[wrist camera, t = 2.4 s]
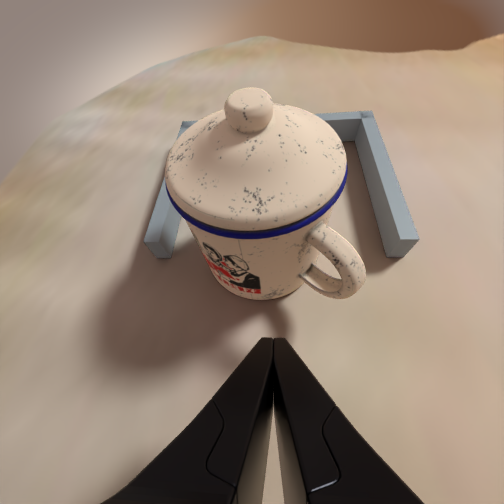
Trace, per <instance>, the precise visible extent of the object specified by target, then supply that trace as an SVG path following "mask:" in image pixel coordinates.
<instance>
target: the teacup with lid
mask: <svg viewBox="0 0 504 504" xmlns="http://www.w3.org/2000/svg"><path fill="white" fill-rule="evenodd" d="M346 178H347V160H346V153H345V149H344V146H343V144H342V142H341V140H340V138H339V136H338V135H337V133H336V132H335V131H334V129H333V128H332V127H331V126H330V125H329V124H328V123H326V122H325V121H324V120H322V119H321V118H319V117H318V116H316V115H314V114H312V113H310V112H308V111H306V110H303V109H300V108H297V107H293V106H289V105H283V104H275V103H273V101H272V99H271V97H270V95H269V94H268V93H267V92H266V91H264V90H262V89H259V88H243V89H239V90H237V91H235V92H233V93H232V94H231V95H230V96H229V97H228V98H227V100H226V102H225V106H224V109H223V110H220V111H217V112H215V113H213V114H210V115H208V116H206V117H204V118H202V119H201V120H199V121H197V122H196V123H194V124H193V125H192V126H190V127H189V128H188V129H187V130H186V131H185V132H184V133H182V135H181V136H180V137H179V138H178V139H177V140H176V142H175V143H174V145H173V147H172V148H171V150H170V152H169V155H168V158H167V161H166V167H165V185H166V191H167V194H168V197H169V199H170V201H171V203H172V205H173V206H174V208H175V209H176V210H177V212H178V213H179V214H180V215H181V216H182V217H183V218H184V219H185V220H186V222H187V224H188V226H189V228H190V230H191V232H192V234H193V236H194V238H195V240H196V242H197V244H198V246H199V248H200V249H201V251H202V253H203V255H204V257H205V259H206V261H207V263H208V265H209V267H210V269H211V271H212V273H213V275H214V277H215V278H216V279H217V281H218V282H219V283H220V284H221V285H222V286H223V287H225V288H226V289H227V290H229V291H230V292H232V293H234V294H236V295H238V296H241V297H244V298H248V299H254V300H268V299H274V298H278V297H282V296H284V295H287V294H289V293H291V292H293V291H294V290H296V289H297V288H299V287H300V286H301V285H302V284H303V283H304V282H305V283H306V284H308V285H309V286H310V287H311V288H313V289H314V290H316V291H317V292H319V293H320V294H322V295H325V296H327V297H330V298H335V299H345V298H348V297H350V296H352V295H353V294H355V293H356V292H357V291H358V290H359V289H360V288H361V287H362V285H363V284H364V282H365V278H366V269H365V266H364V263H363V261H362V259H361V257H360V256H359V254H358V253H357V251H356V250H355V249H354V247H353V246H352V245H351V244H350V243H349V242H348V241H347V240H346V239H345V238H343V237H342V236H341V235H340V234H338V233H337V232H336V231H334V230H333V229H332V228H330V227H329V226H327V224H328V221H329V218H330V214H331V211H332V207H333V204H334V203H335V202H336V201H337V199H338V198H339V196H340V194H341V192H342V190H343V188H344V185H345V183H346ZM319 251H320V252H321V253H322V254H323V255H324V256H326V257H327V258H328V259H329V260H330V261H331V262H332V264H333V265H334V266H335V268H336V269H337V271H338V272H339V274H340V276H341V278H342V279H336V278H333V277H331V276H329V275H327V274H326V273H324V272H323V271H321V270H320V269H319V268H317V267H316V266H315V264H316V262H317V258H318V255H319Z"/></svg>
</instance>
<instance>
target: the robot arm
mask: <svg viewBox="0 0 504 504" xmlns="http://www.w3.org/2000/svg"><path fill="white" fill-rule="evenodd" d="M273 392H274V416H275V425H276V433H277V442H278V451H279V459H280V468H281V477H282V485H283V494H284V503H285V504H424V503H423V502H422V501H421V500H420V498H419V497H418V496H417V495H416V494H415V493H414V492H413V491H412V490H411V489H410V488H409V487H408V486H407V485H406V484H405V483H404V481H403V480H402V479H401V478H400V477H399V476H398V475H397V474H396V473H395V472H394V471H393V470H392V469H391V468H390V467H389V465H388V464H387V463H386V462H385V461H384V460H383V459H382V458H381V457H380V456H379V455H378V454H377V453H376V452H375V450H374V449H373V448H372V447H371V446H370V445H369V444H368V443H367V442H366V440H365V439H364V438H363V437H362V436H361V435H360V434H359V433H358V431H357V430H356V429H355V428H354V427H353V425H352V424H351V423H350V422H349V420H348V419H347V418H346V417H345V415H344V414H343V413H342V411H341V410H340V409H339V407H338V406H336V404H335V402H334V401H333V400H332V399H331V397H330V396H329V395H328V393H327V392H326V391H325V389H324V388H323V387H322V385H321V384H320V383H319V382H318V380H317V379H316V378H315V376H314V375H313V374H312V372H311V371H310V370H309V369H308V367H307V366H306V365H305V363H304V362H303V361H302V359H301V358H300V357H299V355H298V354H297V353H296V352H295V350H294V349H293V348H292V346H291V345H290V344H289V342H288V341H287V340H286V339H285V338H274V340H273V338H266V337H262V338H261V339H260V340H259V341H258V342H257V344H256V345H255V346H254V347H253V349H252V350H251V351H250V352H249V353H248V355H247V356H246V357H245V358H244V360H243V361H242V362H241V363H240V364H239V366H238V367H237V368H236V369H235V370H234V372H233V373H232V374H231V375H230V377H229V378H228V379H227V380H226V381H225V383H224V384H223V385H222V386H221V387H220V389H219V390H218V391H217V392H216V394H215V395H214V396H213V397H212V399H211V400H210V401H209V402H208V403H207V404H206V406H205V407H204V408H203V409H202V410H201V411H200V413H199V414H198V415H197V416H196V417H195V418H194V419H193V421H192V422H191V423H190V424H189V425H188V426H187V427H186V428H185V429H184V430H183V431H182V432H181V433H180V434H179V435H178V436H177V437H176V438H175V439H174V440H173V441H172V442H171V443H170V444H169V445H168V446H167V447H166V448H165V449H164V450H163V451H162V452H161V453H160V454H159V455H158V456H157V457H156V458H155V459H154V460H153V461H152V462H150V463H149V464H148V465H147V466H146V467H145V468H144V469H143V470H142V471H141V472H140V473H139V474H138V475H137V476H136V477H135V478H134V479H133V480H132V481H131V482H130V483H129V484H128V485H126V486H125V487H124V488H123V489H122V490H120V491H119V492H118V493H116V494H115V495H113V496H112V497H111V498H109V499H108V500H106V501H104V502H102V503H100V504H262V498H263V489H264V481H265V473H266V465H267V456H268V448H269V440H270V432H271V423H272V415H273Z"/></svg>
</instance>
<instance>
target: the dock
mask: <svg viewBox="0 0 504 504" xmlns="http://www.w3.org/2000/svg"><path fill="white" fill-rule="evenodd" d="M314 115H316V116H318V117H319V118H321V119H322V120H324V121H325V122H326V123H328V124H329V125H330V126H331V127H332V128H333V129H334V131H335V132H336V133H337V135H338V136H339V138H340V140H341V142H344V141H355V144H356V148H357V152H358V155H359V159H360V162H361V166H362V170H363V173H364V177H365V181H366V184H367V188H368V192H369V195H370V199H371V202H372V206H373V210H374V213H375V217H376V221H377V224H378V228H379V231H380V235H381V239H382V242H383V246H384V250H385V253H386V257H404V256H405V255H406V254H407V253H408V252H409V250H410V249H411V248H412V247H413V246H414V245H415V244H416V243H417V242H418V240H419V236H418V234H417V231H416V228H415V226H414V223H413V220H412V217H411V215H410V212H409V209H408V207H407V204H406V201H405V199H404V196H403V193H402V191H401V188H400V185H399V182H398V180H397V177H396V174H395V172H394V169H393V166H392V164H391V161H390V158H389V156H388V153H387V150H386V147H385V145H384V142H383V139H382V137H381V134H380V131H379V129H378V126H377V123H376V121H375V118H374V115H373V112H372V111H358V112H341V113H323V114H314ZM196 122H197V121H183V122H182V125H181V128H180V131H179V134H178V137H177V139H178V138H179V137H180V136H181V135H182V133H184V132H185V131H186V130H187V129H188V128H189V127H190V126H192V125H193V124H194V123H196ZM180 219H181V215H180V214H179V213H178V212H177V210H176V209H175V208H174V206H173V205H172V203H171V201H170V199H169V197H168V194H167V191H166V185H165V177H164V180H163V183H162V186H161V189H160V192H159V195H158V198H157V201H156V205H155V208H154V211H153V214H152V217H151V220H150V223H149V226H148V229H147V232H146V235H145V238H144V243H145V244H146V246H147V247H148V248H149V249H150V250H151V252H152V253H153V254H154V255H155V256H156V258H171V256H172V252H173V248H174V244H175V240H176V236H177V232H178V227H179V223H180Z"/></svg>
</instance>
